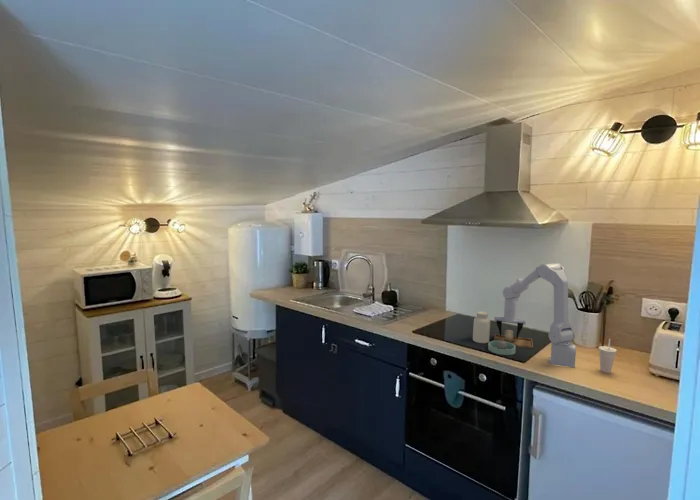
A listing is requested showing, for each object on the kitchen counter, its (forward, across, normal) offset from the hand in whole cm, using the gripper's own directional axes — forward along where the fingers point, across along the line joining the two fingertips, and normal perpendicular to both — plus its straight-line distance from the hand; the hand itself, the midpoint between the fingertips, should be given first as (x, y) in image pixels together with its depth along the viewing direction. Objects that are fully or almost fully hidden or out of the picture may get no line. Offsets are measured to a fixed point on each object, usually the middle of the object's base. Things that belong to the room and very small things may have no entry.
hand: (508, 336), depth 197 cm
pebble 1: (+2, +3, +18) cm, 18 cm away
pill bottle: (+3, +13, +5) cm, 14 cm away
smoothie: (+3, -38, +21) cm, 44 cm away
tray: (+3, -2, +1) cm, 4 cm away
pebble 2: (+2, 0, 0) cm, 2 cm away
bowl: (+3, +3, +15) cm, 16 cm away
